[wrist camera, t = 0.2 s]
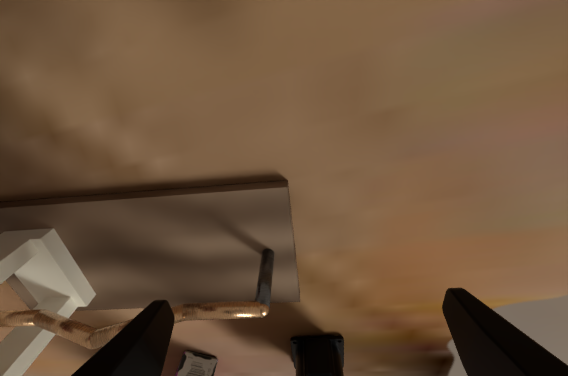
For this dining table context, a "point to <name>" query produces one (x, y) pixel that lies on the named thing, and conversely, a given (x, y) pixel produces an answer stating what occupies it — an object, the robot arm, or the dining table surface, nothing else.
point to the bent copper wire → (100, 337)
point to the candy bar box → (196, 365)
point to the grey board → (169, 243)
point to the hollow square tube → (39, 290)
